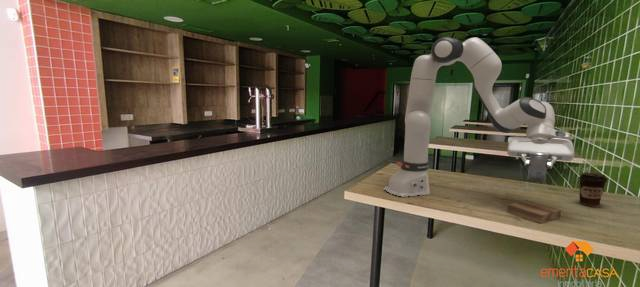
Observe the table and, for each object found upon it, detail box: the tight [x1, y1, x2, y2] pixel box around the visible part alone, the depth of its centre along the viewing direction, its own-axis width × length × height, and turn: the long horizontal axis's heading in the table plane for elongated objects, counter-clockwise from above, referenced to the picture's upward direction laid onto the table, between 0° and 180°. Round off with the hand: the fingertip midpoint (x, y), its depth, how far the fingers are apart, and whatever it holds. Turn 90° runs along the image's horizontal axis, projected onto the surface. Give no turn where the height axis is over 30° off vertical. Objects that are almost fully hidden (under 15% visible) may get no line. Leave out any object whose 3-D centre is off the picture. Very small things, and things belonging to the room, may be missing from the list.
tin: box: [527, 152, 549, 183], centre depth 108 cm, size 6×6×10 cm
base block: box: [506, 199, 562, 224], centre depth 111 cm, size 12×12×3 cm
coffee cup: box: [578, 172, 608, 208], centre depth 119 cm, size 9×8×13 cm
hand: (537, 166), depth 107 cm, fingers closed on tin, 5 cm apart
